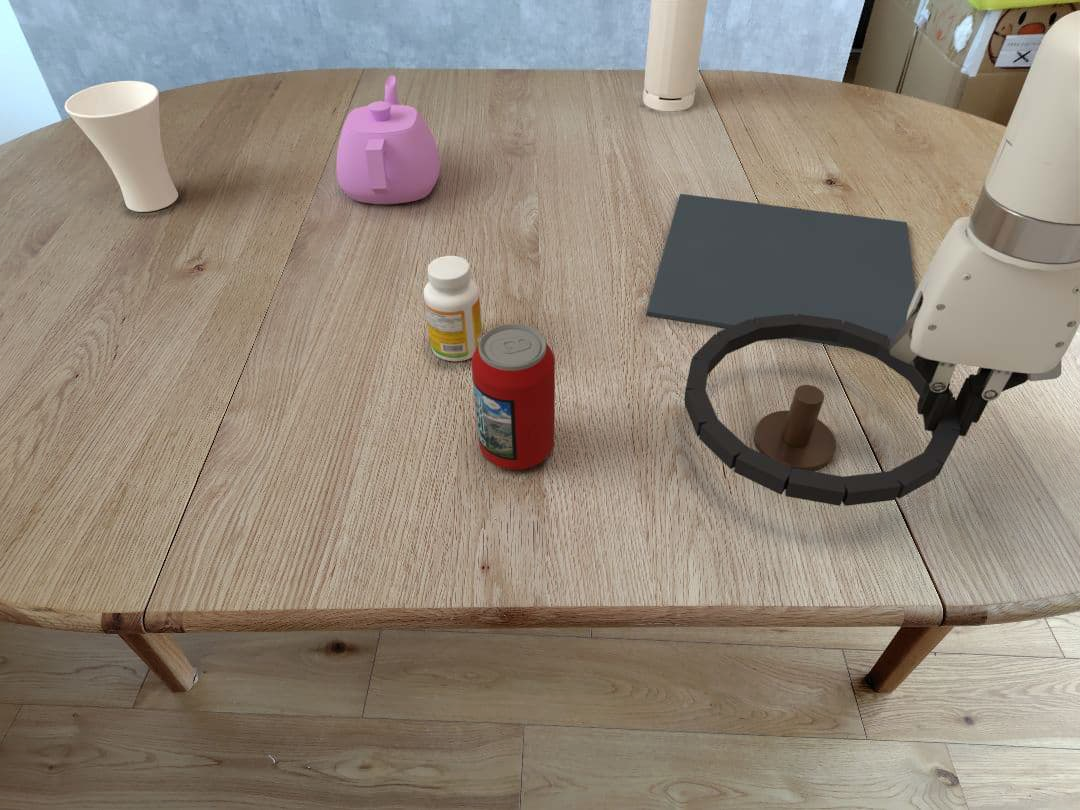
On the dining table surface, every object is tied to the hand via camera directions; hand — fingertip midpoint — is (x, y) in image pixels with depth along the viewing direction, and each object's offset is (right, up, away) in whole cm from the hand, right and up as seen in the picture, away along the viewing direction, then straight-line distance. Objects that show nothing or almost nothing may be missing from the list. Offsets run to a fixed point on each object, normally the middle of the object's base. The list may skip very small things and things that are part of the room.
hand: (943, 420), depth 63 cm
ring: (-10, +1, +3) cm, 10 cm away
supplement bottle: (-42, +7, +17) cm, 45 cm away
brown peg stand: (-10, -2, +6) cm, 12 cm away
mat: (-5, +17, +26) cm, 32 cm away
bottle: (-13, +50, +60) cm, 79 cm away
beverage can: (-35, -3, +6) cm, 36 cm away
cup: (-84, +28, +39) cm, 97 cm away
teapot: (-53, +31, +41) cm, 74 cm away
